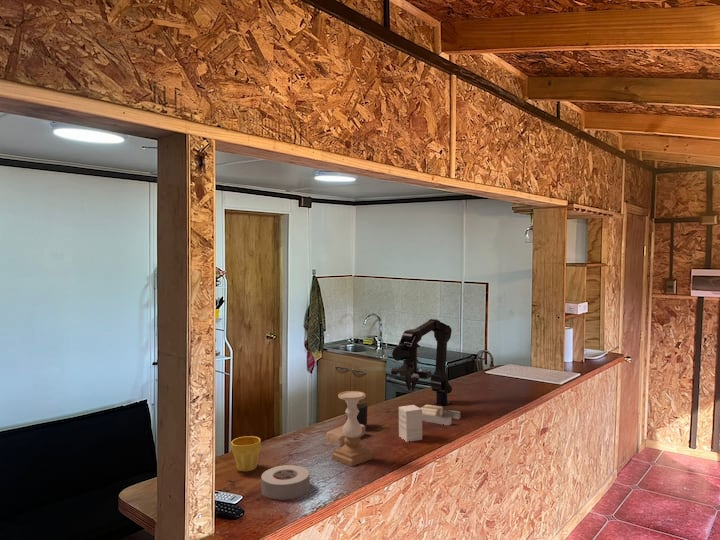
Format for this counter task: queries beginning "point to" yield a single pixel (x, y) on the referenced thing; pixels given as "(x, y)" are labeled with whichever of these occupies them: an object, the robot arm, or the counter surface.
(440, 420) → the chute
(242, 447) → the plant pot
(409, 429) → the supplement box
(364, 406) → the pen holder
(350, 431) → the candle holder
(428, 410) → the block
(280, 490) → the tape roll
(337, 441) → the brick
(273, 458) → the counter surface
